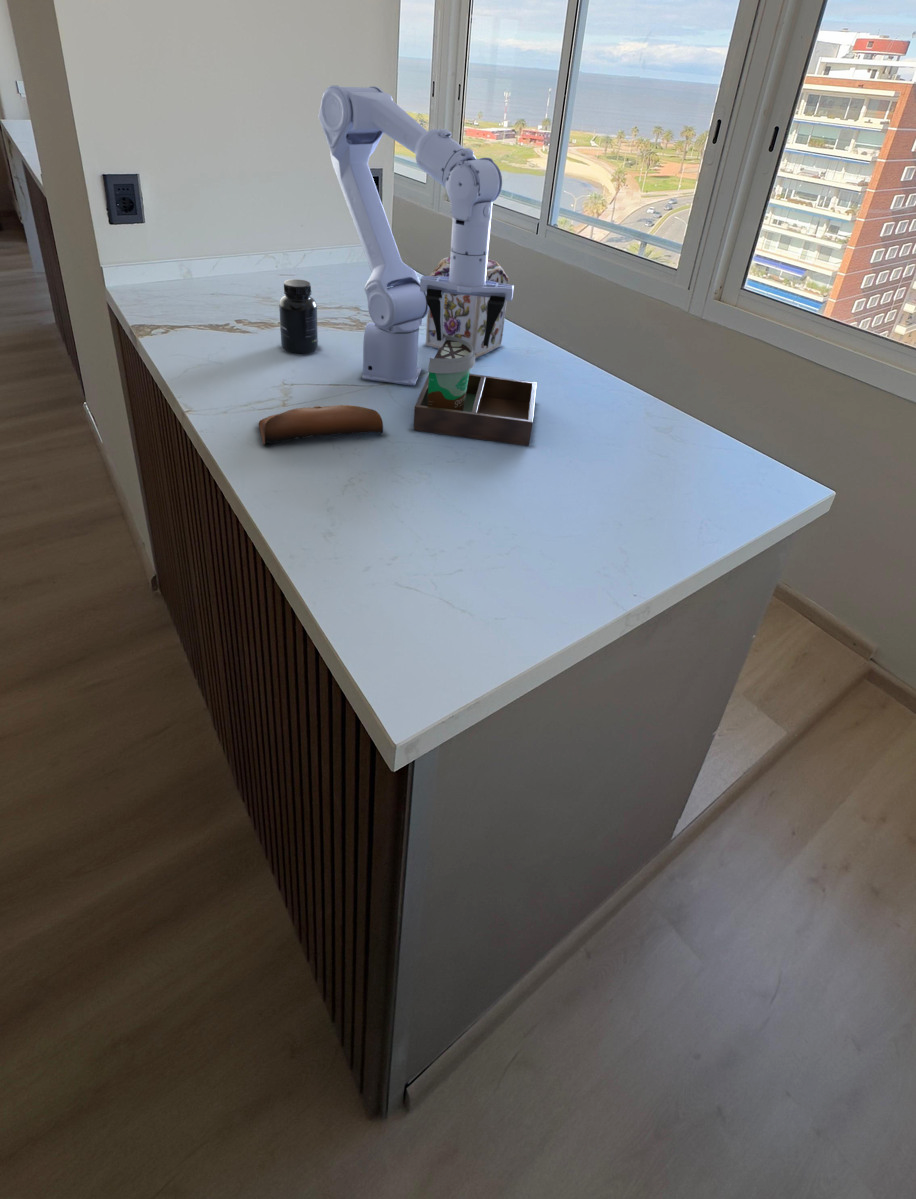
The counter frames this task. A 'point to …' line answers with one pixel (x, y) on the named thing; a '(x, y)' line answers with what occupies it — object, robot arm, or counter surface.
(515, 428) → the organiser tray
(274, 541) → the counter surface
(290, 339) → the supplement bottle
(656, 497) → the counter surface
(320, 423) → the sunglasses case
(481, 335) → the decorative jar
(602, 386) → the counter surface
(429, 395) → the food container
